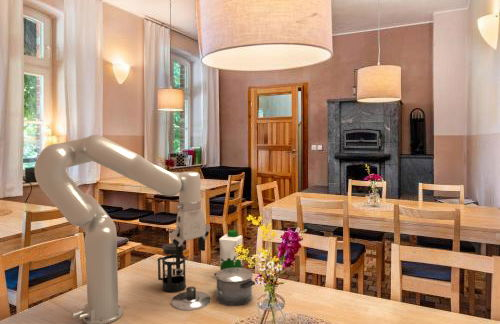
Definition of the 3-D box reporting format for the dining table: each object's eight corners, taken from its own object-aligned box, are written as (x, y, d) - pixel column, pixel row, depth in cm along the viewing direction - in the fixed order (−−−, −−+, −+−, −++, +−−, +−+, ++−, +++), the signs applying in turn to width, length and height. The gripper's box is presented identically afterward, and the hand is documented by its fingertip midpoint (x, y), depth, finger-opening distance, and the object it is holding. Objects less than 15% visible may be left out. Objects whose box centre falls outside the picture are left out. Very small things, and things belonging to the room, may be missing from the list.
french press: (191, 283, 146) (190, 228, 144) (182, 293, 136) (181, 234, 135) (164, 281, 148) (163, 227, 146) (153, 291, 138) (152, 233, 137)
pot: (236, 311, 122) (236, 286, 121) (205, 296, 134) (205, 273, 133) (263, 299, 132) (263, 275, 131) (232, 285, 144) (232, 263, 143)
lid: (186, 315, 120) (186, 300, 120) (164, 302, 130) (163, 288, 130) (218, 302, 130) (218, 288, 130) (195, 290, 140) (195, 277, 140)
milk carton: (244, 276, 153) (244, 230, 152) (237, 284, 145) (236, 236, 143) (225, 274, 156) (225, 228, 155) (217, 281, 148) (216, 234, 146)
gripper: (175, 211, 119) (176, 261, 120) (215, 204, 131) (216, 250, 132) (163, 208, 124) (164, 256, 125) (203, 201, 136) (203, 245, 138)
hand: (191, 253), depth 129 cm, fingers open, 9 cm apart
